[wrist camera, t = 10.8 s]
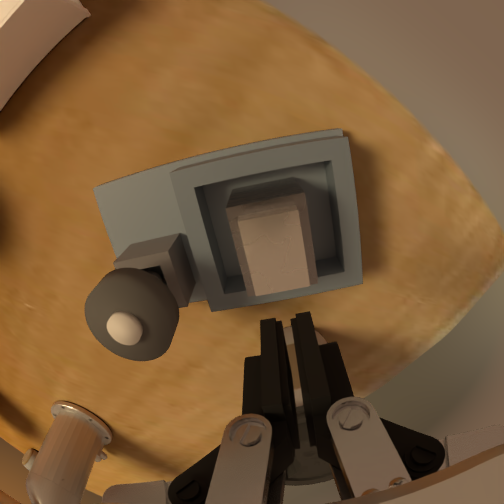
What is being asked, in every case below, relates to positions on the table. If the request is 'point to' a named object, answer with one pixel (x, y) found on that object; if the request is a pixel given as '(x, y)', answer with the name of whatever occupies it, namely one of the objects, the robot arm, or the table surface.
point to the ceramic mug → (29, 458)
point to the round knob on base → (133, 314)
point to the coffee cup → (303, 431)
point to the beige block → (272, 236)
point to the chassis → (216, 221)
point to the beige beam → (31, 36)
